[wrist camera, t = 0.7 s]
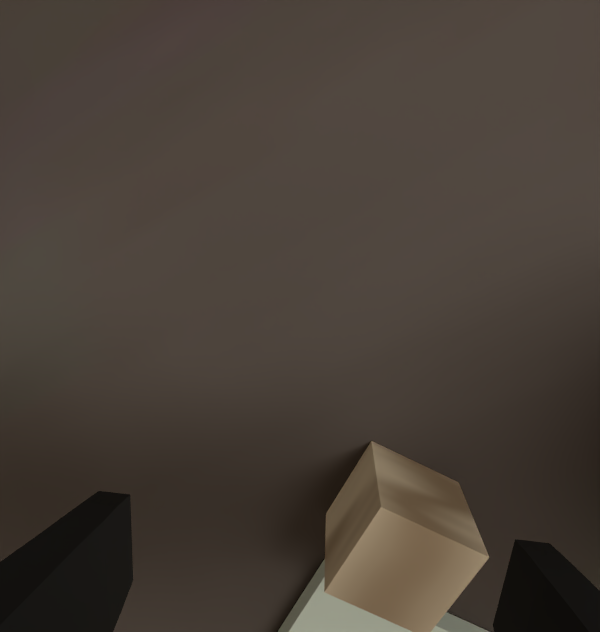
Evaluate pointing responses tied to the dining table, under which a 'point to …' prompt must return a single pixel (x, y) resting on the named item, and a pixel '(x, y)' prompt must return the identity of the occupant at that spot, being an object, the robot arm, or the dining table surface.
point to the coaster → (349, 614)
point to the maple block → (400, 541)
